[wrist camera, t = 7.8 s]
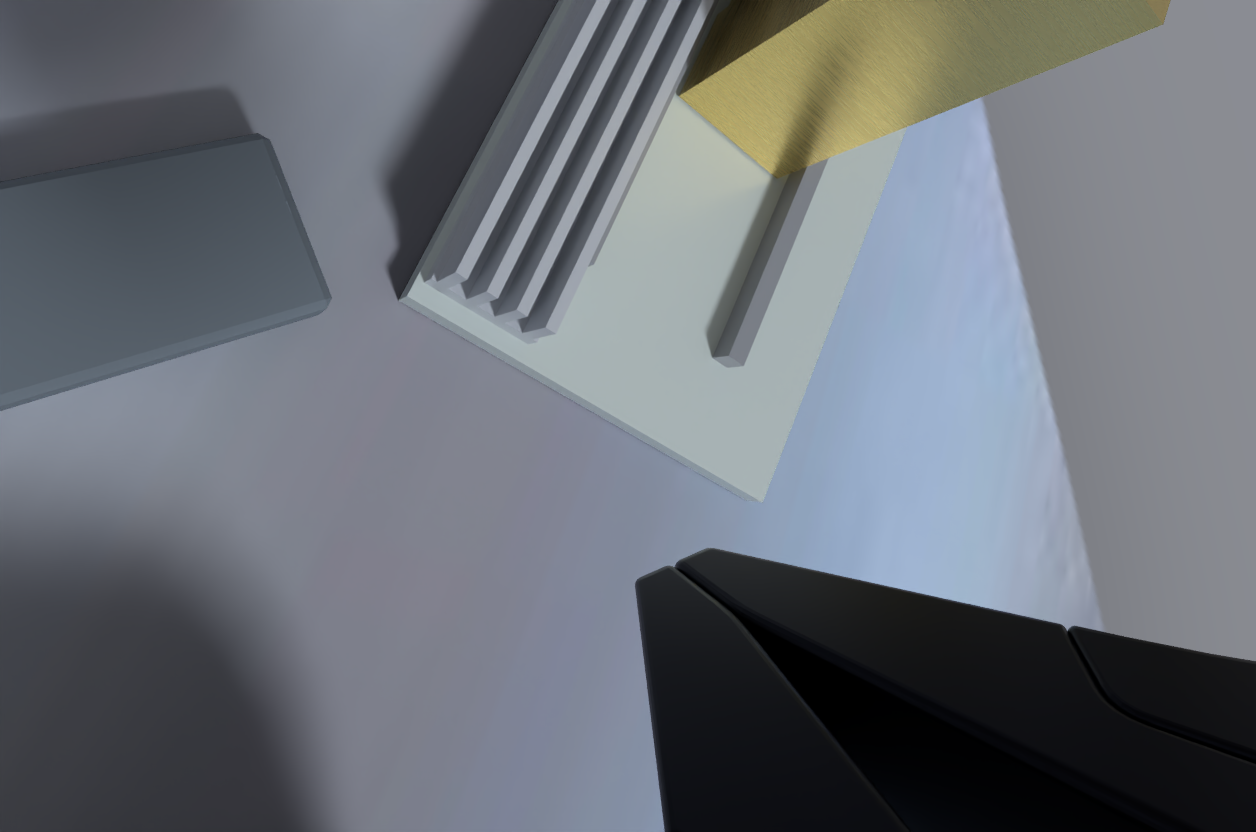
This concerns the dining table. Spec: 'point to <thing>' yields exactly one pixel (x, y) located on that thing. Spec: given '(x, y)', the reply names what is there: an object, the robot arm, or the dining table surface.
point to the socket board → (648, 244)
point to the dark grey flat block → (147, 263)
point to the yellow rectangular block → (881, 64)
